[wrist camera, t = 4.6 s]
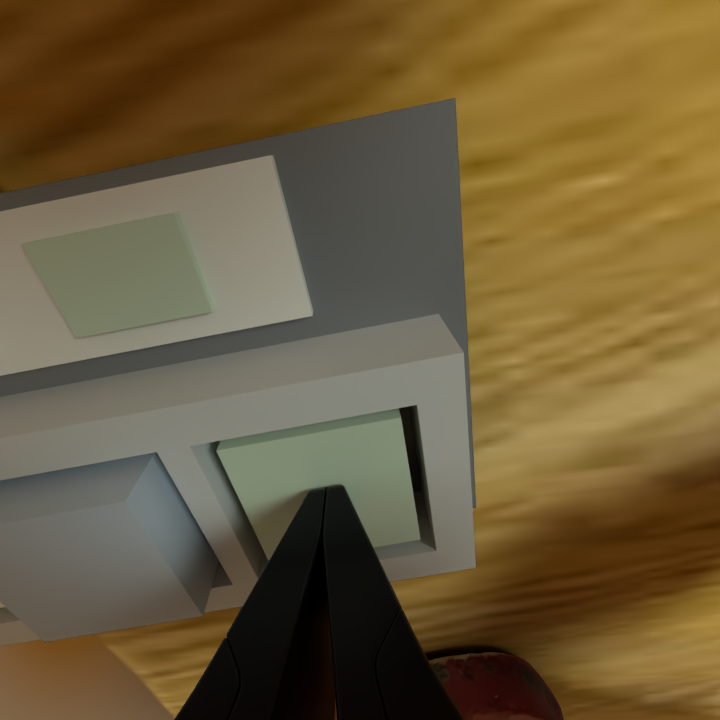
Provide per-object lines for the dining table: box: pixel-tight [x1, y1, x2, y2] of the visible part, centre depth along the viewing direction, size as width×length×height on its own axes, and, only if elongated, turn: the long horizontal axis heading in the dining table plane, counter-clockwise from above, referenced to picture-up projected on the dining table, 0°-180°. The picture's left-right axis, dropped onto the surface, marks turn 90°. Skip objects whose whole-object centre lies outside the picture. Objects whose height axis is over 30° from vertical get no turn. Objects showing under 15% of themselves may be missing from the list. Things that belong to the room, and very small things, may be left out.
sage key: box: [216, 408, 421, 561], centre depth 10 cm, size 4×4×2 cm
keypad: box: [0, 98, 476, 646], centre depth 9 cm, size 19×11×3 cm, turn 100°
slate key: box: [0, 452, 219, 642], centre depth 9 cm, size 4×4×2 cm
